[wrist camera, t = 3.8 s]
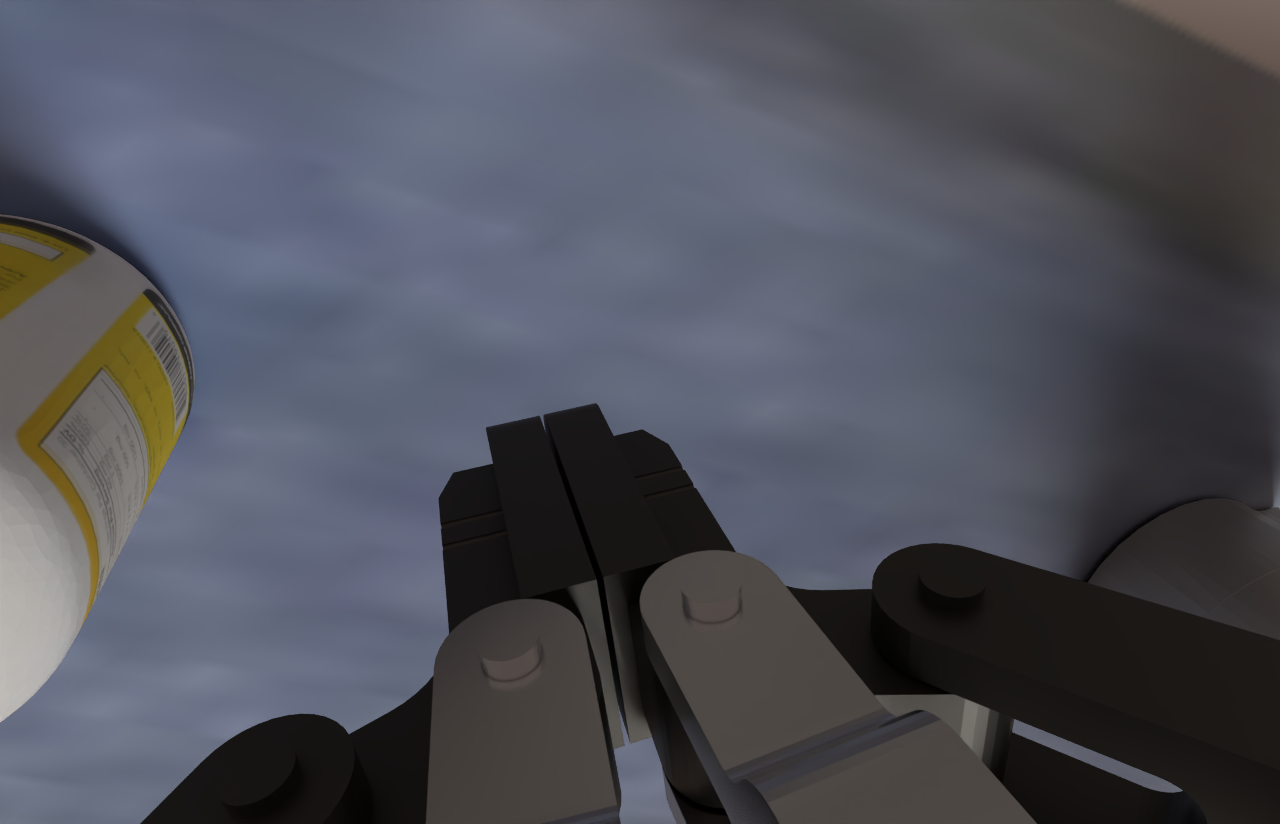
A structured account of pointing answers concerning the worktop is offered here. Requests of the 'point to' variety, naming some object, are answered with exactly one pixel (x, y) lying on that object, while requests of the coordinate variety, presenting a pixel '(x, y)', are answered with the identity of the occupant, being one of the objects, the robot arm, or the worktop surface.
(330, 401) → the worktop surface
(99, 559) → the pill bottle
